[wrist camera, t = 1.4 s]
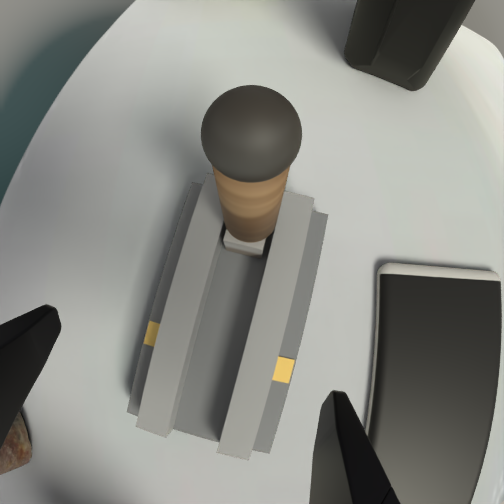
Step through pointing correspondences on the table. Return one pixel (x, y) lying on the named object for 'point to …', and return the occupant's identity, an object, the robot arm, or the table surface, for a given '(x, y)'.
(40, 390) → the table surface
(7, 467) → the candle
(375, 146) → the table surface
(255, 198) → the lever
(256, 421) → the slider console
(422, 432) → the smartphone
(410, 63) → the black machined bracket
